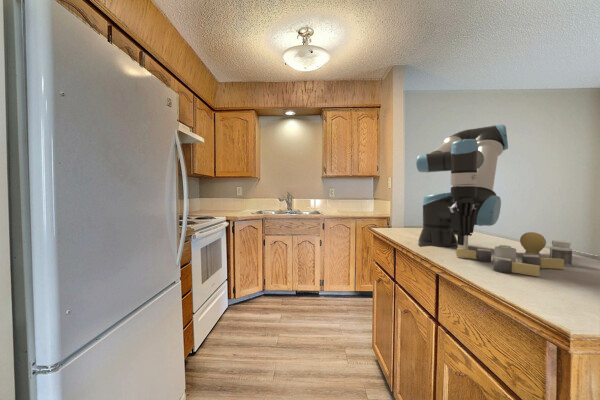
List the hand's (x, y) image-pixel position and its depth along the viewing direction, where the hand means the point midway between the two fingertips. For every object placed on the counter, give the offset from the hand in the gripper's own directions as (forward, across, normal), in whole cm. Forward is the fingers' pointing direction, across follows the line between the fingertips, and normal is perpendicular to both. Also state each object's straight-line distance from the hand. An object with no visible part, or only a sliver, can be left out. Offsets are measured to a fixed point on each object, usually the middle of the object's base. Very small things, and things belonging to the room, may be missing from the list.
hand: (462, 254), depth 85 cm
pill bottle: (+3, +19, -18) cm, 26 cm away
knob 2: (+1, -4, -17) cm, 18 cm away
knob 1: (+1, 0, -3) cm, 4 cm away
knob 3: (+1, +8, -18) cm, 20 cm away
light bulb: (+3, +20, -11) cm, 23 cm away
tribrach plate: (+2, +1, -12) cm, 13 cm away
